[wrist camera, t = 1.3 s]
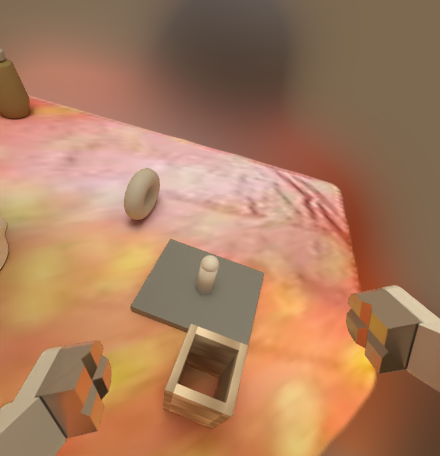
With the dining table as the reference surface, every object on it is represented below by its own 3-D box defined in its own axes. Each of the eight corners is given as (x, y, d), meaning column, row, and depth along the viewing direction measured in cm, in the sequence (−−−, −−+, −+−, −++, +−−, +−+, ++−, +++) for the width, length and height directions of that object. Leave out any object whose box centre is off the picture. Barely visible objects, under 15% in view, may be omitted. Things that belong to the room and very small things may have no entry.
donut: (139, 232, 49) (136, 193, 42) (122, 226, 50) (116, 186, 42) (162, 200, 56) (163, 161, 49) (147, 195, 56) (146, 155, 49)
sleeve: (163, 408, 32) (164, 389, 23) (183, 356, 37) (191, 323, 28) (211, 428, 32) (232, 417, 23) (226, 373, 36) (248, 345, 27)
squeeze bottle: (1, 105, 69) (-36, 21, 56) (37, 107, 71) (9, 26, 58) (-7, 121, 64) (-51, 32, 51) (31, 122, 66) (-1, 38, 53)
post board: (131, 310, 40) (125, 277, 32) (170, 243, 49) (172, 206, 42) (244, 354, 38) (263, 329, 31) (261, 277, 48) (280, 244, 40)
